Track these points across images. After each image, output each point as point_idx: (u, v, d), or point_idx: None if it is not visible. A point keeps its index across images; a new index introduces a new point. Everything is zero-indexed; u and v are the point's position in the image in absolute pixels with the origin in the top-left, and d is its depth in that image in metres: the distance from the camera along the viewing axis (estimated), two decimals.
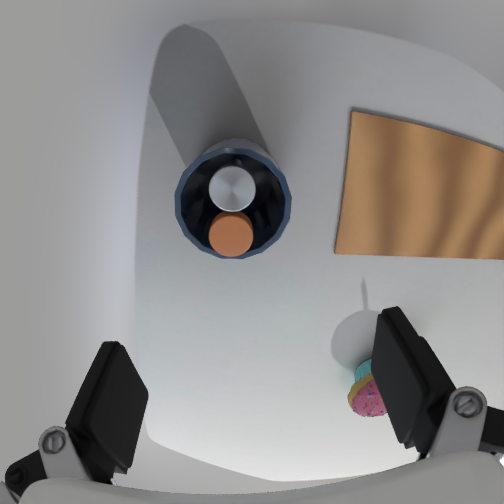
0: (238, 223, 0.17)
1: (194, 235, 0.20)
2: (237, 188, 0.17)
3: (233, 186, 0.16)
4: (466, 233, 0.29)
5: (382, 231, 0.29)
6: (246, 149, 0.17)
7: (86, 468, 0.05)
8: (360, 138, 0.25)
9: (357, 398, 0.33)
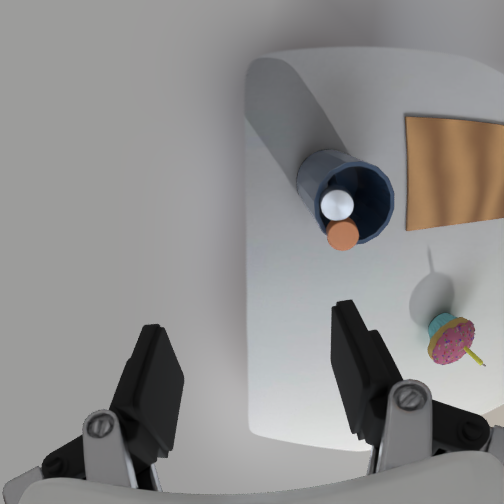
0: (348, 226, 0.23)
1: None
2: (341, 204, 0.22)
3: (338, 203, 0.22)
4: (497, 198, 0.32)
5: (438, 207, 0.33)
6: (362, 162, 0.22)
7: (128, 459, 0.06)
8: (414, 137, 0.29)
9: (436, 348, 0.37)
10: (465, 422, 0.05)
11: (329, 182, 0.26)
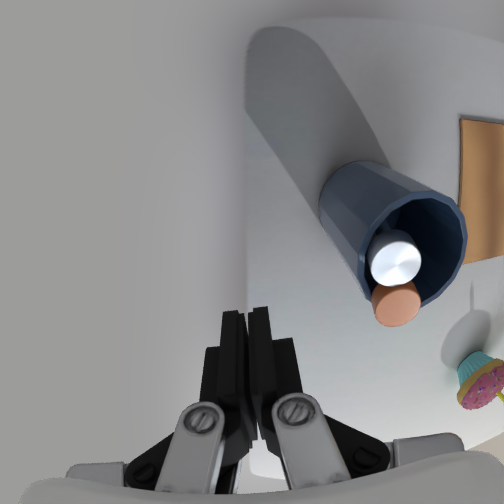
0: (408, 295, 0.14)
1: None
2: (402, 263, 0.13)
3: (398, 262, 0.13)
4: None
5: (489, 235, 0.23)
6: (434, 191, 0.13)
7: (217, 465, 0.06)
8: (470, 146, 0.20)
9: (467, 395, 0.28)
10: (362, 446, 0.06)
11: None
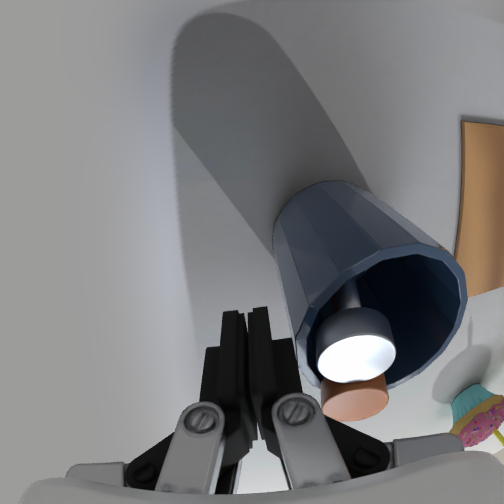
0: (369, 393, 0.09)
1: None
2: (366, 359, 0.09)
3: (359, 358, 0.09)
4: None
5: (494, 264, 0.19)
6: (419, 244, 0.09)
7: (217, 465, 0.06)
8: (475, 157, 0.15)
9: (460, 435, 0.23)
10: (362, 446, 0.06)
11: None
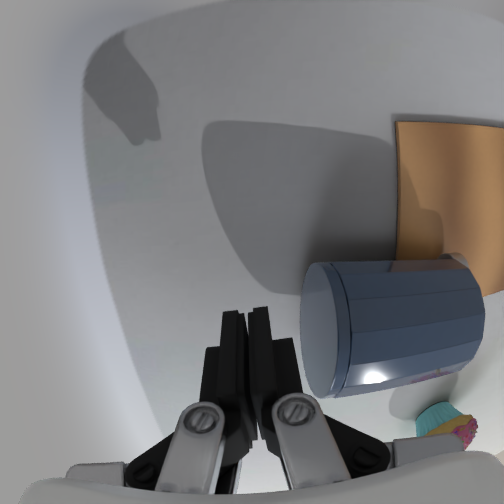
0: None
1: None
2: None
3: None
4: None
5: None
6: (479, 287, 0.13)
7: (217, 465, 0.06)
8: (414, 161, 0.15)
9: None
10: (362, 445, 0.06)
11: None
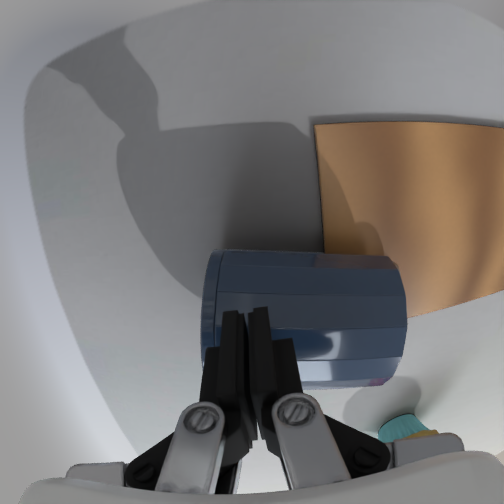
0: None
1: None
2: None
3: None
4: None
5: None
6: (398, 271, 0.13)
7: (217, 465, 0.06)
8: (337, 166, 0.16)
9: None
10: (362, 445, 0.06)
11: None
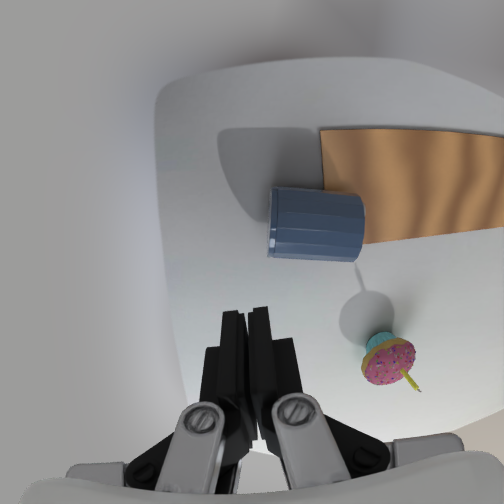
0: None
1: None
2: None
3: None
4: (443, 212, 0.34)
5: None
6: (360, 197, 0.29)
7: (217, 465, 0.06)
8: (331, 151, 0.31)
9: (368, 369, 0.39)
10: (362, 446, 0.06)
11: None
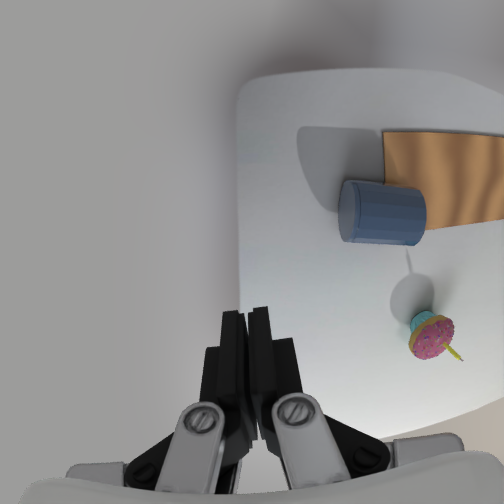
0: None
1: None
2: None
3: None
4: (475, 203, 0.37)
5: None
6: (419, 190, 0.32)
7: (217, 465, 0.06)
8: (391, 150, 0.34)
9: (416, 344, 0.41)
10: (362, 446, 0.06)
11: None
